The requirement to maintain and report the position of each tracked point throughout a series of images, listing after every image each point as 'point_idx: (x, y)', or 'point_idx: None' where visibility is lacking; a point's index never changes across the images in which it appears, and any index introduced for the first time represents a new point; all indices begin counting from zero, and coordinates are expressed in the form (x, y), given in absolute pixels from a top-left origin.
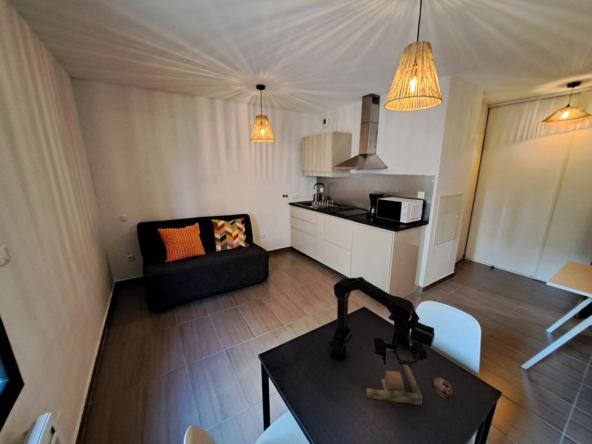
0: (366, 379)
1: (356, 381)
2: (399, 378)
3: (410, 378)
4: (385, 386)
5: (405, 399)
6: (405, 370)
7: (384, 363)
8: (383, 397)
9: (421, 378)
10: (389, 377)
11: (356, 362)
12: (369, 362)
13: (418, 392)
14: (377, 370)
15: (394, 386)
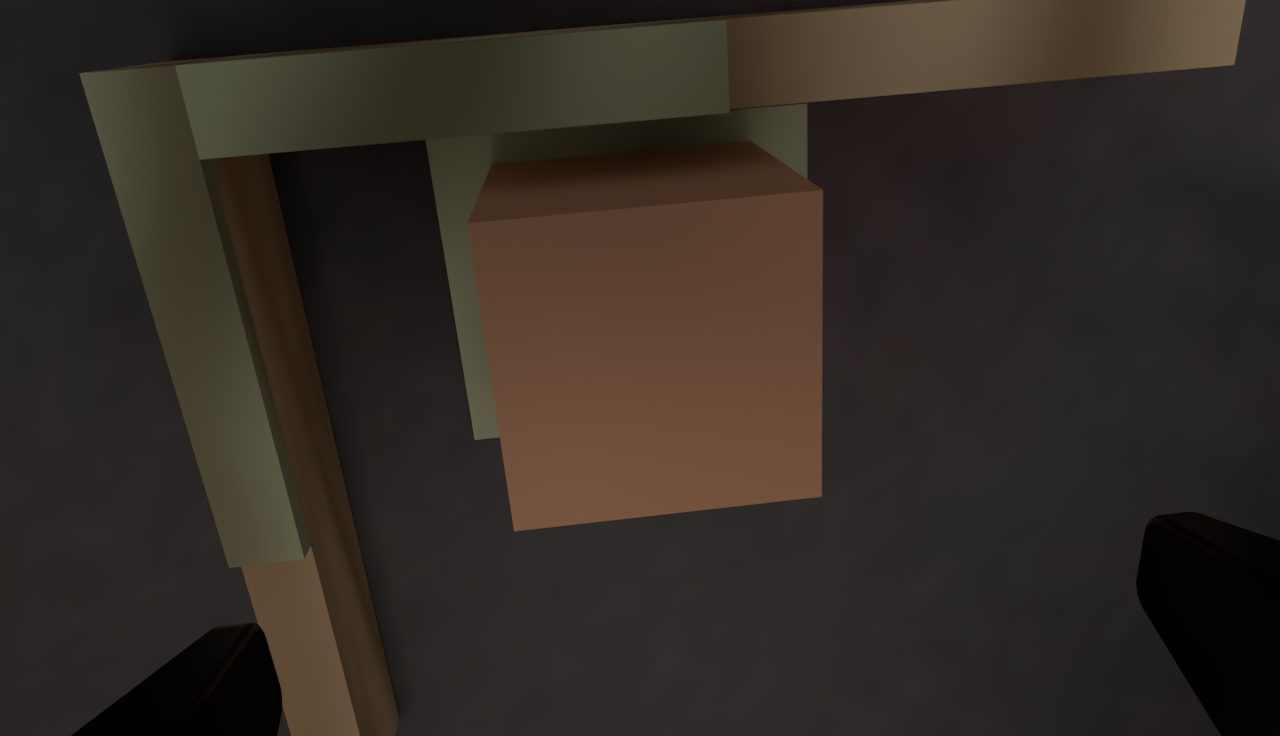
0: (1056, 336)
1: (1239, 259)
2: (551, 373)
3: (296, 489)
4: None
5: (458, 39)
6: (368, 641)
7: (1267, 543)
8: (880, 3)
9: (115, 572)
10: (784, 343)
11: None
12: (928, 641)
13: (158, 193)
14: (831, 538)
15: (681, 186)
